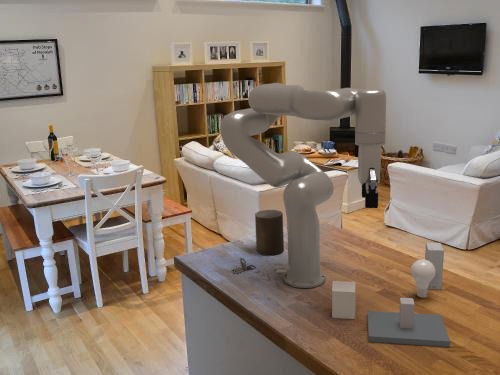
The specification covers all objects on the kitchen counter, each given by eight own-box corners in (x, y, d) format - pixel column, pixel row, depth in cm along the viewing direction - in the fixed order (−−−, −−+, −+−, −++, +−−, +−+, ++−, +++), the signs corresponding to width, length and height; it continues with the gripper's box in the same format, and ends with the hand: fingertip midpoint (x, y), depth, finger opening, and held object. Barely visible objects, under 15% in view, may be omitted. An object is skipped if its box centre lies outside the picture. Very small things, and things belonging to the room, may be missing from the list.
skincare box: (442, 290, 140) (444, 250, 137) (426, 289, 141) (428, 250, 138) (438, 280, 146) (440, 242, 143) (423, 280, 147) (425, 242, 144)
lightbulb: (431, 304, 132) (433, 266, 129) (407, 299, 136) (408, 262, 133) (436, 294, 137) (438, 257, 135) (413, 290, 141) (414, 254, 138)
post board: (368, 341, 117) (369, 311, 115) (367, 316, 128) (367, 287, 126) (449, 347, 113) (451, 315, 111) (440, 320, 125) (442, 291, 123)
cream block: (332, 317, 128) (332, 291, 126) (332, 306, 134) (332, 281, 132) (355, 319, 127) (355, 292, 125) (354, 308, 132) (355, 282, 130)
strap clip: (234, 276, 156) (233, 263, 155) (229, 272, 158) (229, 260, 157) (257, 269, 160) (256, 257, 159) (252, 266, 163) (251, 254, 162)
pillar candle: (284, 255, 169) (283, 213, 166) (256, 256, 170) (254, 214, 166) (283, 245, 179) (282, 205, 175) (256, 246, 179) (254, 206, 175)
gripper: (352, 133, 135) (352, 193, 140) (357, 144, 119) (357, 212, 123) (381, 132, 134) (380, 193, 139) (390, 143, 118) (388, 212, 122)
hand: (369, 202), depth 131 cm, fingers open, 9 cm apart
